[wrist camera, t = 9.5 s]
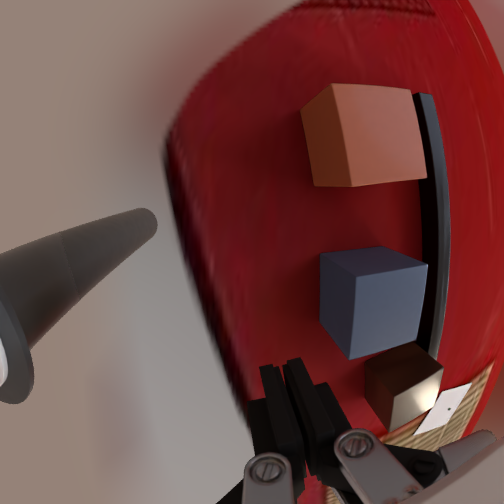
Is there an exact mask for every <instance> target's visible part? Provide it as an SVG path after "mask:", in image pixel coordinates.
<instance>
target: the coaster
mask: <svg viewBox="0 0 504 504" xmlns="http://www.w3.org/2000/svg"><path fill="white" fill-rule="evenodd" d="M471 384H472V383H470V384H466V385H463V386H460V387H457V388H453V389H450V390H446V391H443V392H442V393H441V395H440V396H439V398H438V400H437V401H436V403H435V405H434V406H433V408H432V409H431V411H430V412H429V414H428V415H427V417H426V418H425V420H424V421H423V423H422V424H421V425H420V427H419V428H418V430H417V431H416V432H415V434H414V435H417V434H420V433H423V432H426V431H429V430H431V429H434V428H437V427H439V426H442V425H444V424H446V423H447V422H448V420H449V419H450V417H451V416H452V414H453V413H454V411H455V410H456V408H457V407H458V405H459V404H460V402H461V401H462V399H463V397H464V396H465V394H466V392H467V391H468V389H469V387H470V386H471ZM414 435H413V436H414Z"/></svg>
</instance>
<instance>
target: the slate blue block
mask: <svg viewBox="0 0 504 504" xmlns="http://www.w3.org/2000/svg"><path fill="white" fill-rule="evenodd" d="M427 267H428V264H426V263H423V262H421V261H418V260H416V259H414V258H411V257H409V256H406V255H404V254H401V253H399V252H396V251H394V250H391V249H389V248H386V247H383V246H380V247H371V248H363V249H354V250H346V251H337V252H328V253H321V254H320V314H319V322H320V323H321V325H322V326H323V327H324V329H325V330H326V331H327V332H328V334H329V335H330V336H331V338H332V339H333V340H334V342H335V343H336V344H337V345H338V347H339V348H340V349H341V351H342V352H343V353H344V355H345V356H346V357H347V359H348V360H352V359H355V358H359V357H363V356H366V355H370V354H373V353H377V352H380V351H383V350H386V349H390V348H393V347H396V346H399V345H402V344H405V343H408V342H411V341H413V340H416V336H417V332H418V327H419V322H420V316H421V311H422V305H423V298H424V292H425V284H426V276H427Z"/></svg>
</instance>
